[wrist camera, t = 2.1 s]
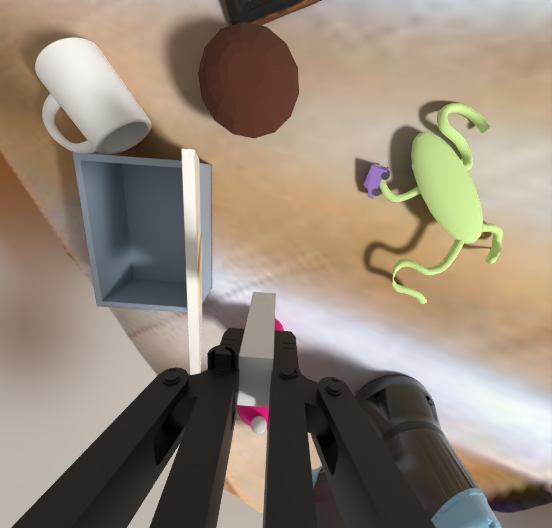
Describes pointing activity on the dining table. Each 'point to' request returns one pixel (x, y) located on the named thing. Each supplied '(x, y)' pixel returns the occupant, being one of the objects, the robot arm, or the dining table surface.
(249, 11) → the framed painting
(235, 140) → the dining table surface
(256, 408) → the pepper mill
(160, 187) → the box
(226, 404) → the robot arm
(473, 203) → the figurine
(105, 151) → the mug
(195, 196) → the lid
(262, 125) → the muffin
